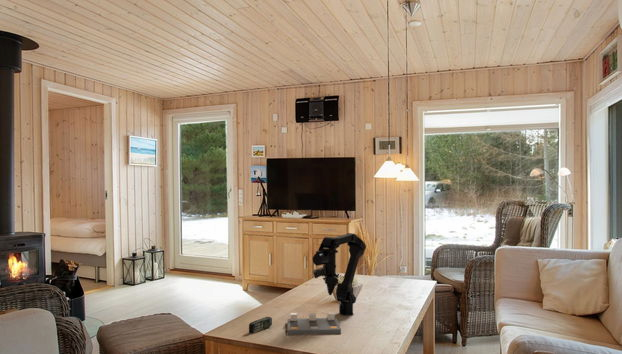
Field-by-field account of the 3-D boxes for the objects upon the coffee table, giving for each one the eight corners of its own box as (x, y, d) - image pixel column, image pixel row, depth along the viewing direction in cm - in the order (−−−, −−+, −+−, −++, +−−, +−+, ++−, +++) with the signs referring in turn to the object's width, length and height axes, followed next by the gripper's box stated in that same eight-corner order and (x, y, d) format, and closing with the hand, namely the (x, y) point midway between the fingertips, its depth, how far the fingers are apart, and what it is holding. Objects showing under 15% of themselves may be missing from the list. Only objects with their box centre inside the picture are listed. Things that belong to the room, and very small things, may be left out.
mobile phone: (252, 324, 192) (274, 315, 204) (247, 322, 194) (270, 314, 205) (252, 335, 192) (275, 325, 204) (247, 333, 194) (270, 324, 206)
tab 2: (333, 318, 208) (333, 312, 208) (334, 320, 205) (334, 313, 205) (327, 318, 207) (327, 312, 207) (328, 320, 205) (328, 314, 205)
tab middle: (315, 318, 207) (315, 312, 207) (315, 320, 205) (315, 314, 205) (309, 319, 207) (309, 312, 207) (309, 320, 204) (309, 314, 204)
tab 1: (296, 319, 206) (296, 313, 206) (296, 320, 204) (296, 314, 204) (290, 319, 206) (290, 313, 206) (290, 320, 204) (290, 314, 204)
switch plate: (336, 322, 209) (336, 317, 209) (340, 333, 193) (340, 329, 193) (287, 322, 208) (287, 318, 208) (287, 334, 192) (287, 330, 192)
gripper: (312, 259, 221) (312, 289, 221) (315, 266, 202) (315, 299, 202) (333, 259, 222) (333, 289, 221) (338, 266, 203) (338, 299, 203)
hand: (329, 294), depth 212 cm, fingers open, 4 cm apart
